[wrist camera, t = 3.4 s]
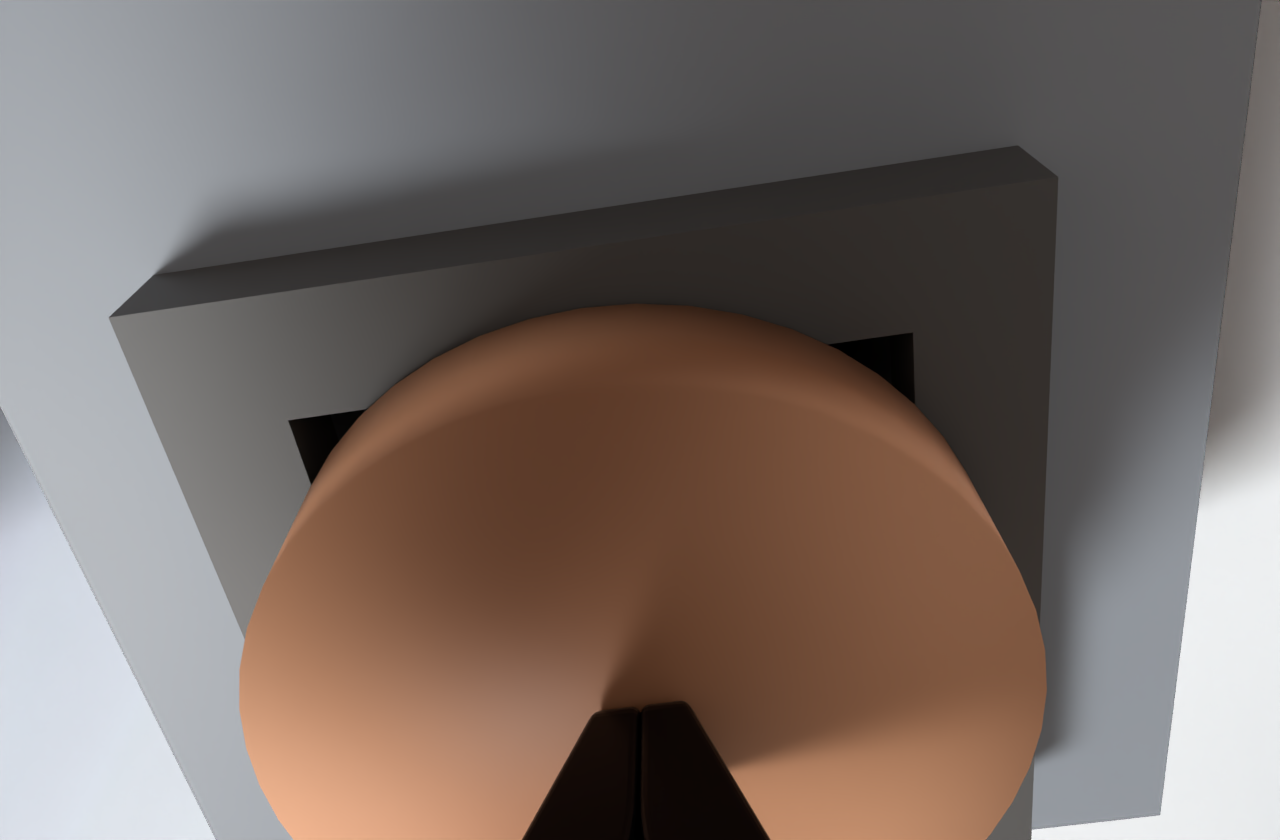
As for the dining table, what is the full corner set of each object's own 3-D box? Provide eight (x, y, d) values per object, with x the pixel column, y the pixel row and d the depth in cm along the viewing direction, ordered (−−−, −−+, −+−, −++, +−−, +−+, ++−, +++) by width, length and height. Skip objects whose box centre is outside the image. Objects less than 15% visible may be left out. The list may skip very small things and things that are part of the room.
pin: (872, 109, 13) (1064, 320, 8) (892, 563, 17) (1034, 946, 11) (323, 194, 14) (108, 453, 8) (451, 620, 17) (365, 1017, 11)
